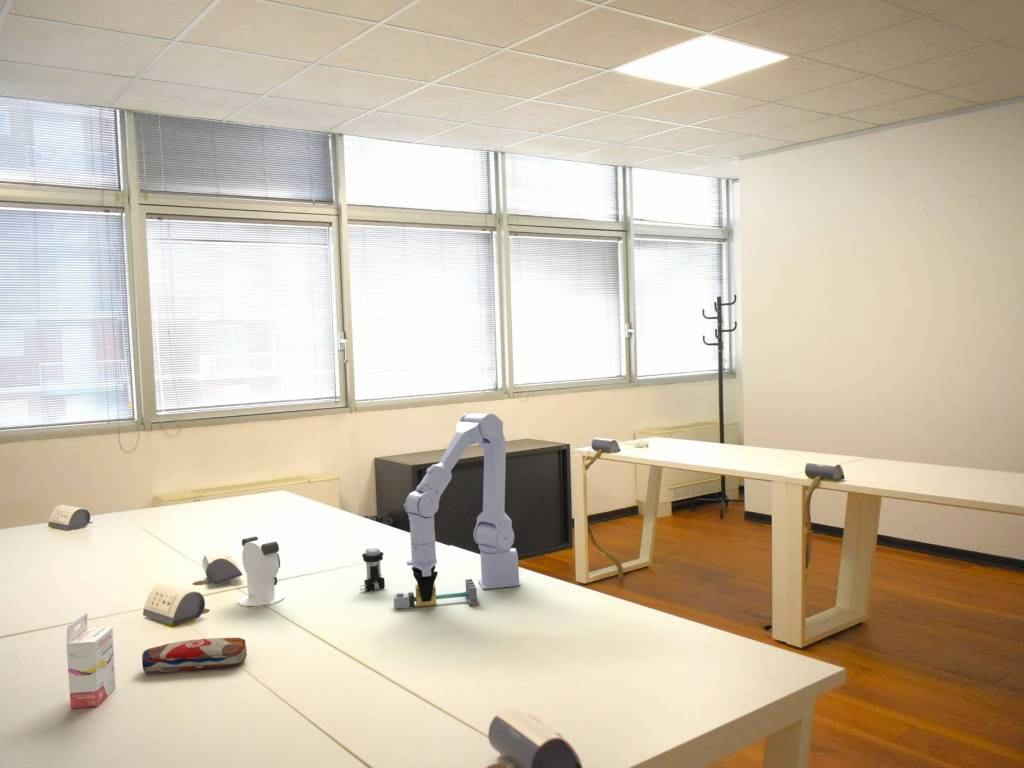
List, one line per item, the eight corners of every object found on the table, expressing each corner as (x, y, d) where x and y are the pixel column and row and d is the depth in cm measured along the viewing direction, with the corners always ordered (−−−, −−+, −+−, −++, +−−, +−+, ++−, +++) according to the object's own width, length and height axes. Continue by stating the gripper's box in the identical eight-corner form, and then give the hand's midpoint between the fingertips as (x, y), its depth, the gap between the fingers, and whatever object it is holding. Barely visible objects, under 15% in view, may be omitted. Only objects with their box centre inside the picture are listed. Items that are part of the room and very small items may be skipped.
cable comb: (473, 594, 206) (473, 577, 206) (479, 605, 197) (478, 588, 197) (464, 595, 206) (463, 578, 206) (469, 606, 197) (468, 589, 197)
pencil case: (228, 679, 160) (227, 653, 159) (132, 677, 162) (131, 652, 162) (254, 657, 170) (252, 633, 170) (164, 656, 173) (162, 632, 173)
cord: (470, 595, 202) (470, 591, 202) (470, 596, 201) (470, 592, 201) (403, 601, 199) (403, 597, 199) (403, 603, 198) (403, 598, 198)
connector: (408, 604, 200) (408, 591, 200) (409, 607, 198) (408, 594, 197) (394, 605, 200) (393, 592, 199) (394, 609, 197) (393, 595, 197)
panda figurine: (295, 598, 209) (292, 538, 208) (254, 610, 201) (250, 548, 200) (269, 590, 217) (266, 532, 217) (229, 601, 209) (225, 541, 208)
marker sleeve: (434, 600, 202) (434, 583, 202) (436, 604, 198) (435, 587, 198) (416, 602, 201) (415, 585, 201) (417, 606, 198) (416, 589, 197)
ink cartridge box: (98, 707, 149) (93, 625, 148) (69, 709, 148) (64, 627, 148) (117, 687, 157) (112, 610, 156) (90, 689, 157) (84, 611, 156)
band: (413, 603, 200) (413, 592, 200) (414, 607, 198) (414, 595, 198) (408, 604, 200) (408, 592, 200) (409, 607, 198) (408, 596, 197)
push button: (364, 594, 210) (362, 554, 210) (355, 589, 214) (353, 551, 214) (388, 588, 214) (386, 550, 213) (379, 584, 218) (377, 546, 218)
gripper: (404, 536, 205) (406, 591, 206) (408, 550, 191) (410, 609, 192) (433, 534, 207) (435, 588, 207) (438, 547, 192) (441, 606, 193)
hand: (425, 598), depth 200 cm, fingers closed on marker sleeve, 3 cm apart
